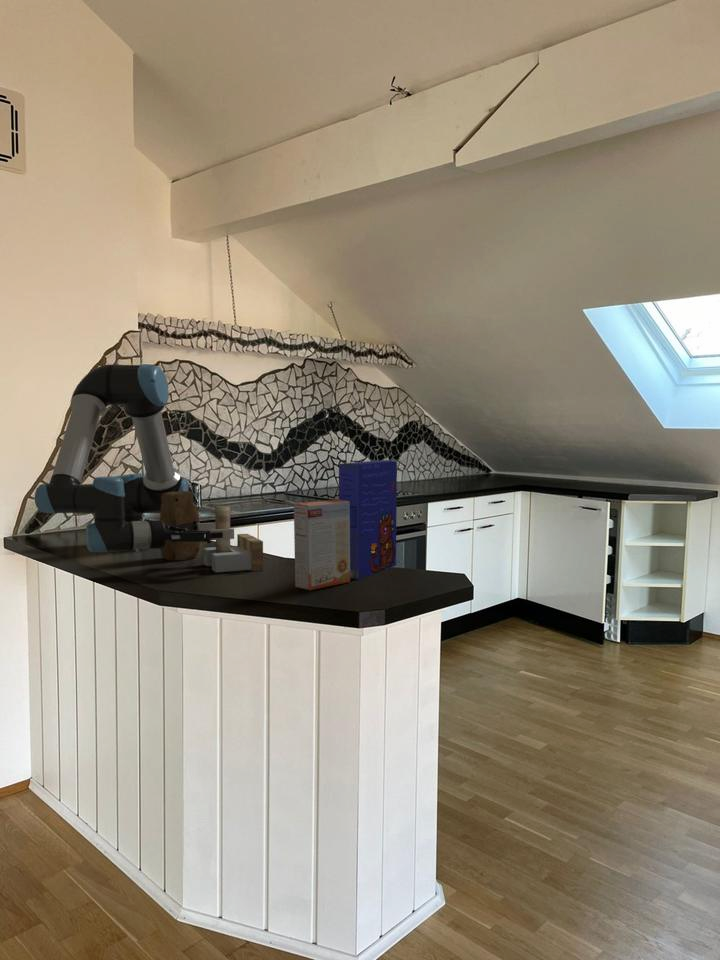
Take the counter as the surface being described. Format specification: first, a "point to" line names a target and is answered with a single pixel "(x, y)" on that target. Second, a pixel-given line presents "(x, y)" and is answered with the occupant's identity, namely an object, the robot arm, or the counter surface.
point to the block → (177, 512)
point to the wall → (252, 549)
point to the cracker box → (322, 544)
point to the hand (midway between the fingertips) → (227, 530)
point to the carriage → (228, 559)
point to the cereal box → (370, 514)
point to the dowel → (222, 527)
